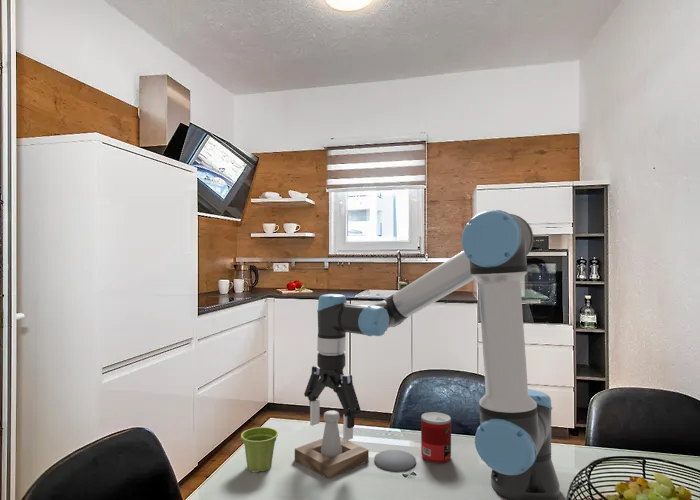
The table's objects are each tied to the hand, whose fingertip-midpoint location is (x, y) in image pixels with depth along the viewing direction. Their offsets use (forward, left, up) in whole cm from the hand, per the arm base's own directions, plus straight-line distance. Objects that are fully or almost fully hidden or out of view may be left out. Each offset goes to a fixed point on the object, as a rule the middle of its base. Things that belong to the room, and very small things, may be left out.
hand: (330, 431), depth 122 cm
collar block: (0, 0, -8) cm, 8 cm away
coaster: (-12, -12, -8) cm, 19 cm away
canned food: (-18, -22, -8) cm, 30 cm away
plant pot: (+10, +16, -8) cm, 20 cm away
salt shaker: (0, 0, -8) cm, 8 cm away
